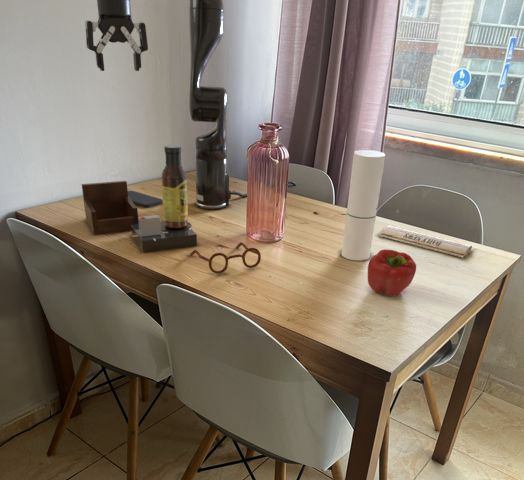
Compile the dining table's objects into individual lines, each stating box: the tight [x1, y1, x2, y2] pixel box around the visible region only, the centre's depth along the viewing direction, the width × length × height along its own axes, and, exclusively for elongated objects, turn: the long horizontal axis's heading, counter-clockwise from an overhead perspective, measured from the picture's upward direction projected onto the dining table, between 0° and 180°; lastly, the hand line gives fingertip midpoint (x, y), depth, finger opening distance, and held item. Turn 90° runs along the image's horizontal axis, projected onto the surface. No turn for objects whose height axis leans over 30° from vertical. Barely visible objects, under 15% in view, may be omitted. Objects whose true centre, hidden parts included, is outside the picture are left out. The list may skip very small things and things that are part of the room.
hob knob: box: [138, 214, 161, 237], centre depth 136 cm, size 5×2×5 cm, turn 115°
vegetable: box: [367, 248, 417, 297], centre depth 119 cm, size 11×10×10 cm
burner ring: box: [160, 220, 192, 232], centre depth 143 cm, size 9×9×1 cm
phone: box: [127, 190, 163, 208], centre depth 169 cm, size 7×1×15 cm
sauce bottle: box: [161, 144, 189, 228], centre depth 138 cm, size 6×6×20 cm
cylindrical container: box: [341, 149, 386, 261], centre depth 133 cm, size 7×7×25 cm
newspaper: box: [378, 224, 473, 258], centre depth 148 cm, size 24×7×2 cm, turn 55°
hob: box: [130, 221, 198, 253], centre depth 141 cm, size 16×13×3 cm
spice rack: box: [81, 180, 139, 235], centre depth 148 cm, size 12×12×10 cm
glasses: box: [189, 241, 262, 275], centre depth 131 cm, size 13×13×5 cm
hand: (119, 70), depth 135 cm, fingers open, 8 cm apart
